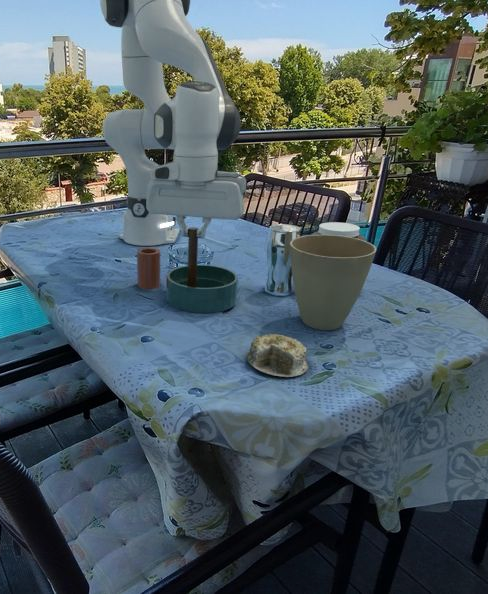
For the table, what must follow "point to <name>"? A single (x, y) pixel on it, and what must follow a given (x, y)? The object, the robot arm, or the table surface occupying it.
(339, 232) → the jar
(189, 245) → the stirring stick
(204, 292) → the bowl
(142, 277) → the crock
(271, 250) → the shiny metal cylinder
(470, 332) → the table surface
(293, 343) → the cake
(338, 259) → the plant pot
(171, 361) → the table surface
